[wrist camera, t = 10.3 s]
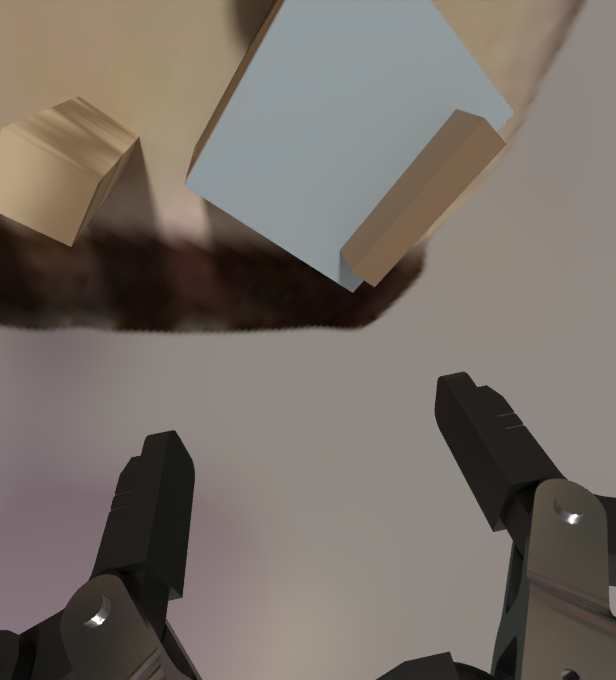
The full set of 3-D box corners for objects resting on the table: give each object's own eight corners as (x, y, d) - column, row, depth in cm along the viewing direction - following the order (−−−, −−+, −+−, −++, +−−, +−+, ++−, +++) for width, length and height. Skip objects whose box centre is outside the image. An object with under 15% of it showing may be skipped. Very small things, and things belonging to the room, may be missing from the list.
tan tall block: (58, 150, 26) (-20, 204, 18) (78, 96, 25) (1, 127, 16) (117, 184, 28) (71, 246, 20) (139, 136, 27) (98, 182, 18)
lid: (185, 180, 22) (178, 204, 19) (342, -105, 16) (370, -139, 13) (349, 285, 28) (364, 316, 25) (504, 110, 22) (549, 121, 19)
